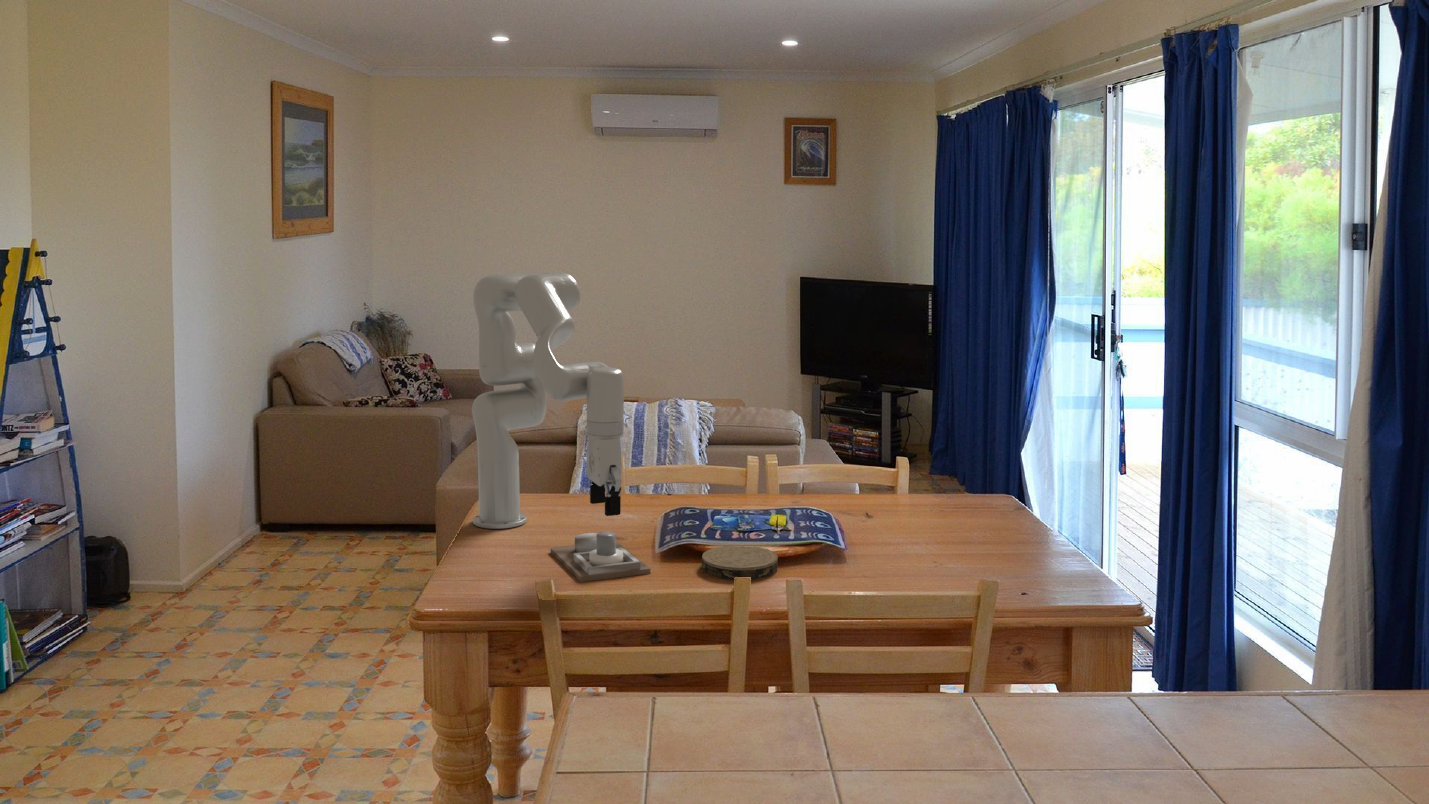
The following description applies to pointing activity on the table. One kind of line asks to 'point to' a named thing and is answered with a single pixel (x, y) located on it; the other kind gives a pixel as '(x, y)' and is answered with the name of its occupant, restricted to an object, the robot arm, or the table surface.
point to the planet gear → (605, 550)
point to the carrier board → (579, 565)
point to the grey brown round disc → (739, 562)
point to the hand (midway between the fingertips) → (605, 509)
